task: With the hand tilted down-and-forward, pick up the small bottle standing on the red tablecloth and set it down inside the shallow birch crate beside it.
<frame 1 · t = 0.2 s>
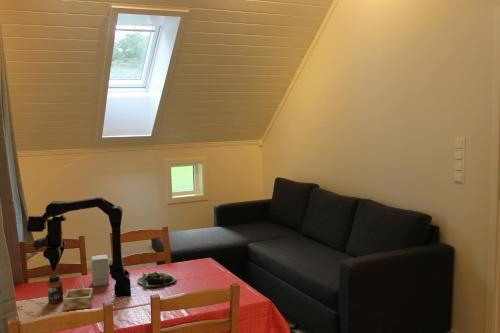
hand: (55, 267, 200), 15 cm above the table, tool pointing down, fingers open, 9 cm apart
crate: (79, 303, 198), on the table
salad plate: (156, 283, 223), on the table
supplement box: (100, 283, 223), on the table
supplement bottle: (55, 301, 201), on the table
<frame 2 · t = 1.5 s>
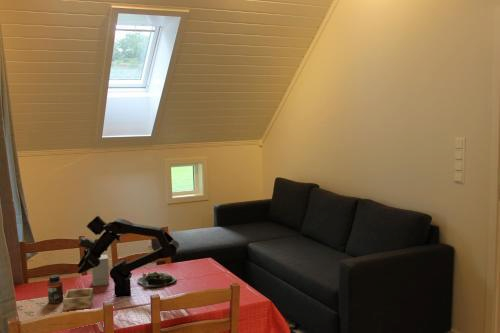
hand: (78, 269, 203), 13 cm above the table, tool tilted 45°, fingers open, 9 cm apart
nothing on the table moved.
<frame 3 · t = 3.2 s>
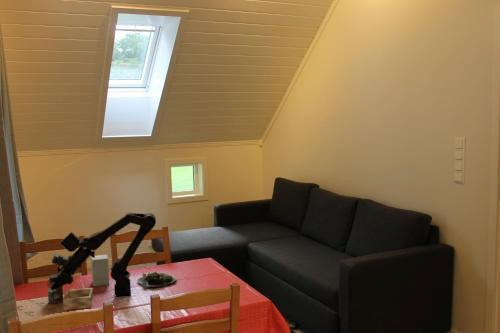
hand: (51, 286, 200), 7 cm above the table, tool tilted 45°, fingers closed on supplement bottle, 6 cm apart
supplement bottle: (55, 301, 201), on the table, touching gripper
everything else where it was.
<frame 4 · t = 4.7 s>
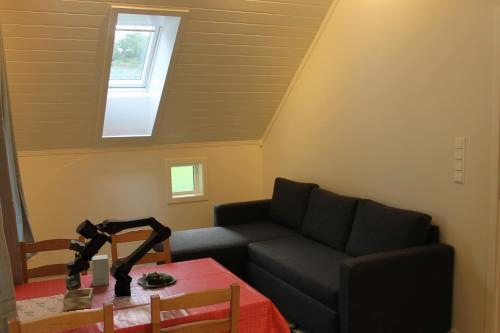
hand: (69, 273, 198), 13 cm above the table, tool tilted 45°, fingers closed on supplement bottle, 6 cm apart
supplement bottle: (73, 288, 199), point 6 cm above the table, touching gripper
everything else where it was.
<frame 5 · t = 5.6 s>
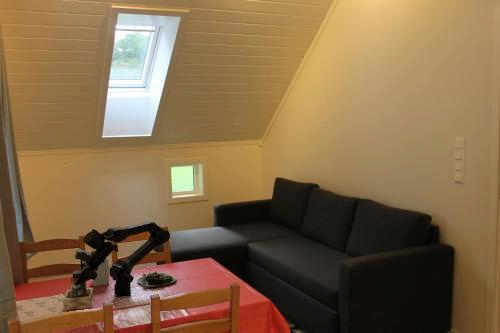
hand: (75, 282, 197), 9 cm above the table, tool tilted 45°, fingers closed on supplement bottle, 6 cm apart
supplement bottle: (79, 298, 198), point 2 cm above the table, touching gripper
everything else where it was.
when the fingers open (9 cm above the table, at t = 6.1 s): supplement bottle drops 1 cm, resting on crate.
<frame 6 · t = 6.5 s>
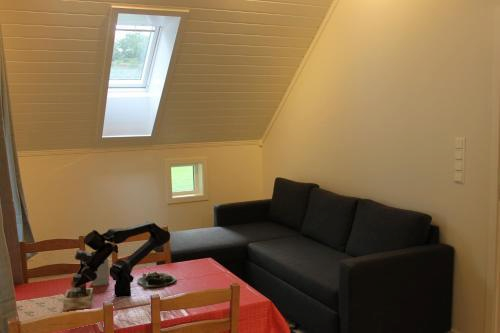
hand: (74, 283, 197), 9 cm above the table, tool tilted 45°, fingers open, 9 cm apart
supplement bottle: (79, 301, 198), point 1 cm above the table, touching crate
everything else where it was.
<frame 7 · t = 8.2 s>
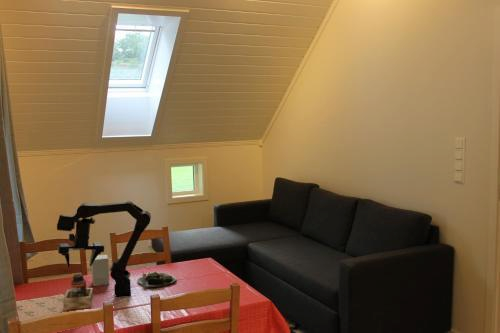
hand: (79, 266, 205), 14 cm above the table, tool pointing down, fingers open, 9 cm apart
nothing on the table moved.
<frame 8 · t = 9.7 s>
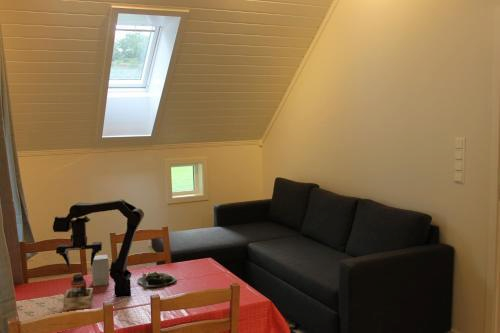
hand: (80, 266, 207), 13 cm above the table, tool pointing down, fingers open, 9 cm apart
nothing on the table moved.
at the end: supplement bottle 0.2 cm off-centre on the crate, point 0.8 cm above the crate's base; supplement bottle tilted 0°; the gripper is holding nothing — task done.
